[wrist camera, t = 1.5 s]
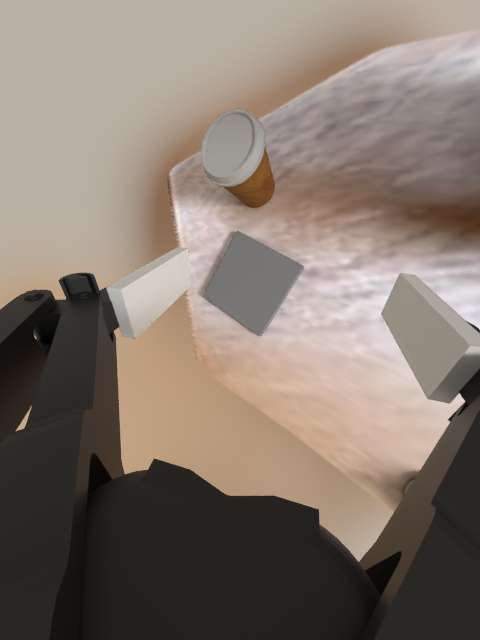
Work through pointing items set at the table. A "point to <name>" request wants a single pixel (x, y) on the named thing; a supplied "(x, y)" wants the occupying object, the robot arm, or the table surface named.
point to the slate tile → (252, 282)
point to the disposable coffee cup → (238, 157)
